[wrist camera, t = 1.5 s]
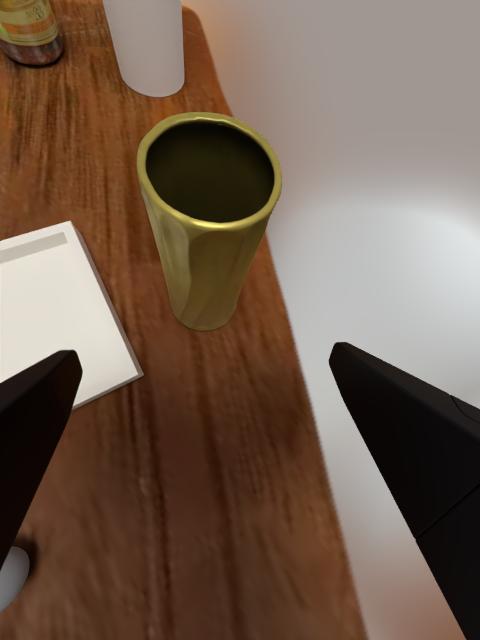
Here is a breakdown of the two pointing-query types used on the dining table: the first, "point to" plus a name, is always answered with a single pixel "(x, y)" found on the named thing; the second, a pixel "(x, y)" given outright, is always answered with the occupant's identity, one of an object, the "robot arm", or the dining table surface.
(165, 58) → the cylindrical container
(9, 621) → the dining table surface
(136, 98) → the dining table surface
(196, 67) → the dining table surface
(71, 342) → the tray
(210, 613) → the dining table surface
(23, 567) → the mixing ball
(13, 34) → the sauce bottle
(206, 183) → the vase
